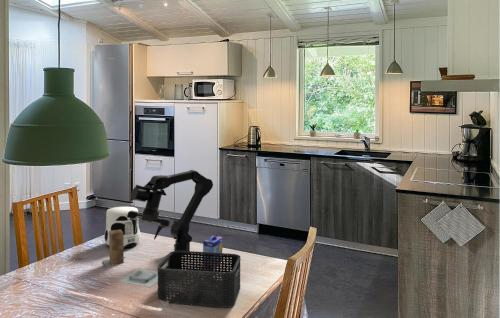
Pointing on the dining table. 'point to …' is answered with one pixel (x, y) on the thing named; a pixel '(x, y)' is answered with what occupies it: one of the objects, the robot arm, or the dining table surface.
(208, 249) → the ink cartridge box
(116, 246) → the walnut block
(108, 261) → the slate coaster
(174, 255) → the storage bin
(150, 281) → the pocket board
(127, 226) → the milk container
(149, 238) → the dining table surface
